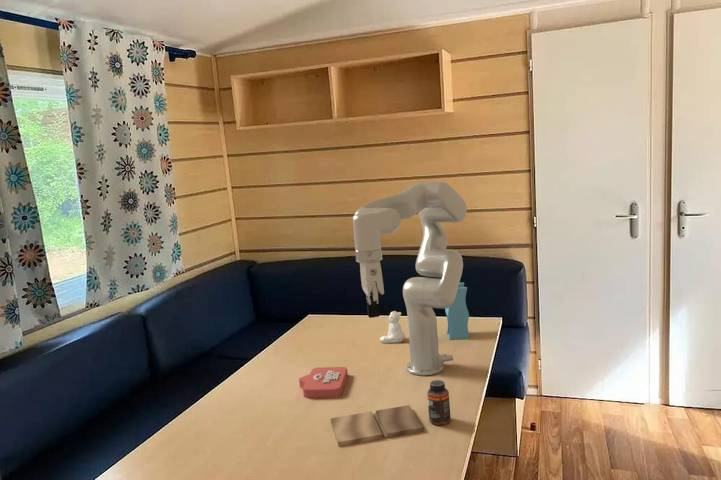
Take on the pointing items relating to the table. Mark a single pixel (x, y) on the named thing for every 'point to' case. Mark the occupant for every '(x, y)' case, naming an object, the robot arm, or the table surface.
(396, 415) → the brown wooden board
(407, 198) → the robot arm
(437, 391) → the supplement bottle
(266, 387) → the table surface
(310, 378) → the plaque
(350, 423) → the plank
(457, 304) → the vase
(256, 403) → the table surface
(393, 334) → the white creature statuette
